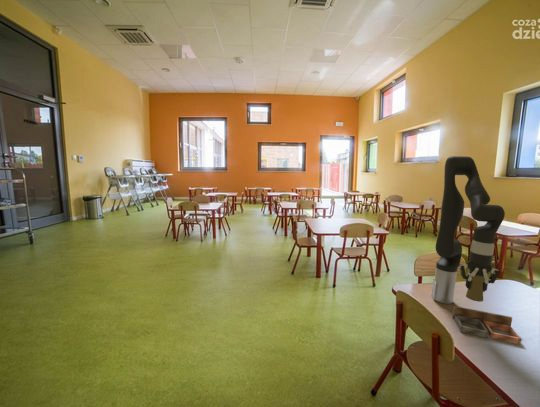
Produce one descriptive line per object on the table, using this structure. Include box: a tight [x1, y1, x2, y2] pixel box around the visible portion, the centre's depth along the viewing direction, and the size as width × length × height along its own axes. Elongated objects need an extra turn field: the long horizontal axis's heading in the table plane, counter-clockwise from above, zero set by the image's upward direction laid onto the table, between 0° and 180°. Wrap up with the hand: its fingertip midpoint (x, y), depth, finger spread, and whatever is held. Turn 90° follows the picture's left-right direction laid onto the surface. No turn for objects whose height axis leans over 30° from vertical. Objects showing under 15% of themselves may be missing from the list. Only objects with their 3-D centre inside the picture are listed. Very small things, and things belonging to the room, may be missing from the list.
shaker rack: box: [451, 305, 522, 346], centre depth 113 cm, size 21×11×6 cm, turn 68°
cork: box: [465, 275, 485, 302], centre depth 112 cm, size 6×6×11 cm
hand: (475, 289), depth 112 cm, fingers closed on cork, 4 cm apart
